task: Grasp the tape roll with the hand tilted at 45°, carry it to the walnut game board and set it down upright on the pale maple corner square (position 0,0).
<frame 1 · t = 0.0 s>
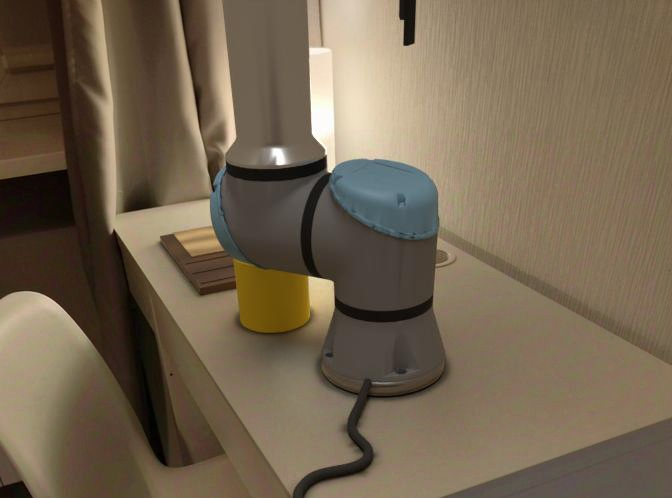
hand: (449, 46, 112), 28 cm above the table, tool pointing down, fingers open, 13 cm apart
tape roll: (275, 318, 103), on the table
board: (227, 257, 122), on the table
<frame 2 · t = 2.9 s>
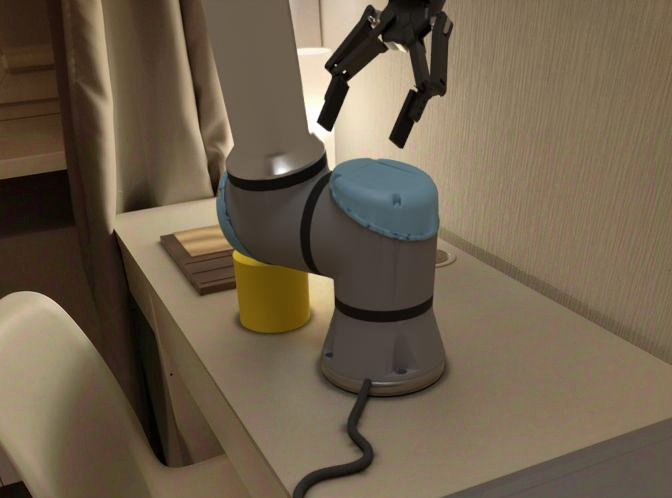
hand: (358, 135, 99), 21 cm above the table, tool tilted 35°, fingers open, 13 cm apart
nothing on the table moved.
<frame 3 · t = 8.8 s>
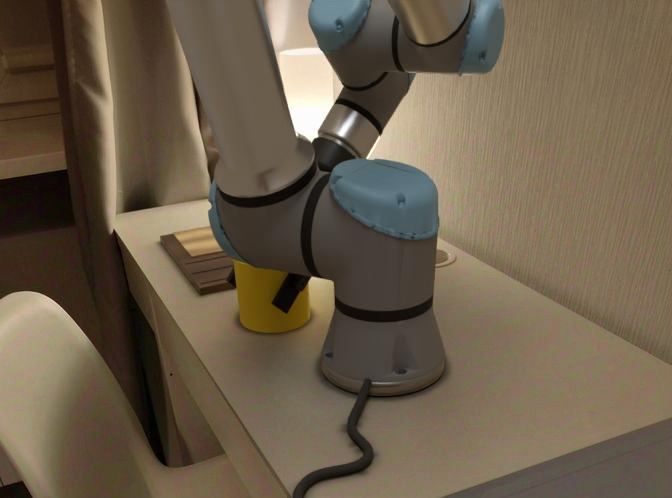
hand: (255, 296, 99), 4 cm above the table, tool tilted 45°, fingers closed on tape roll, 10 cm apart
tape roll: (275, 318, 103), on the table, touching gripper
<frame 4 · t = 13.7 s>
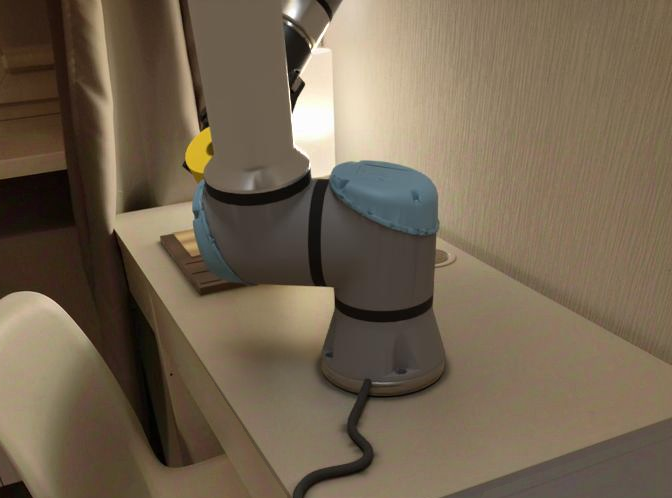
hand: (210, 179, 102), 16 cm above the table, tool tilted 45°, fingers closed on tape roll, 10 cm apart
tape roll: (244, 199, 108), point 12 cm above the table, touching gripper
when the fingers open (7 cm above the table, at t = 18.6 s): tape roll drops 2 cm, resting on board.
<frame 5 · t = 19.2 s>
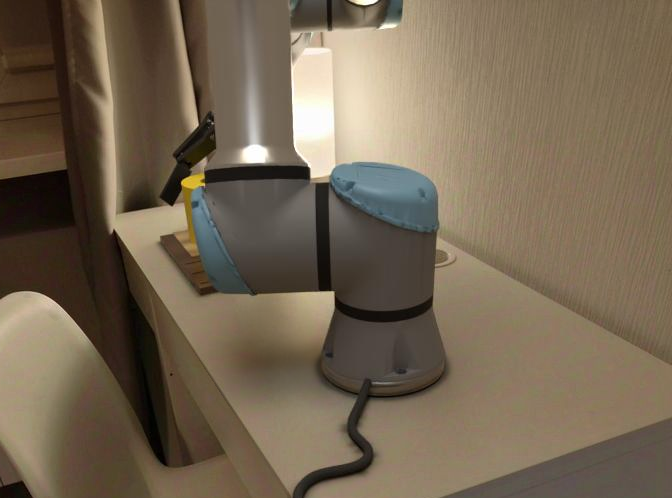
hand: (186, 211, 119), 8 cm above the table, tool tilted 45°, fingers open, 13 cm apart
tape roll: (218, 237, 127), point 1 cm above the table, touching board
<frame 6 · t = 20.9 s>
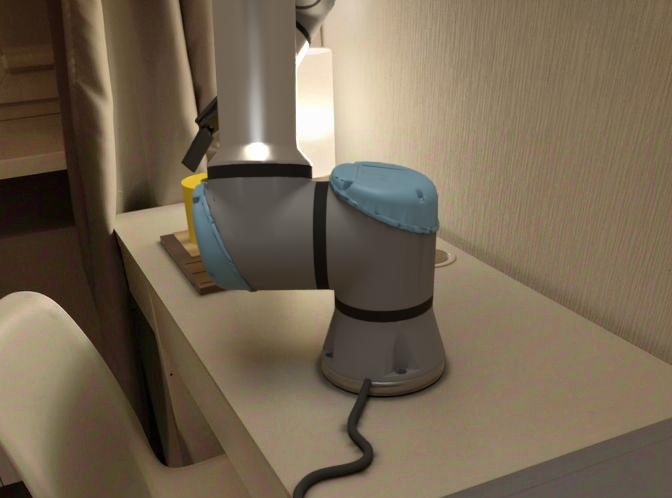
hand: (209, 175, 119), 12 cm above the table, tool tilted 45°, fingers open, 13 cm apart
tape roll: (218, 237, 127), point 1 cm above the table, touching board, gripper
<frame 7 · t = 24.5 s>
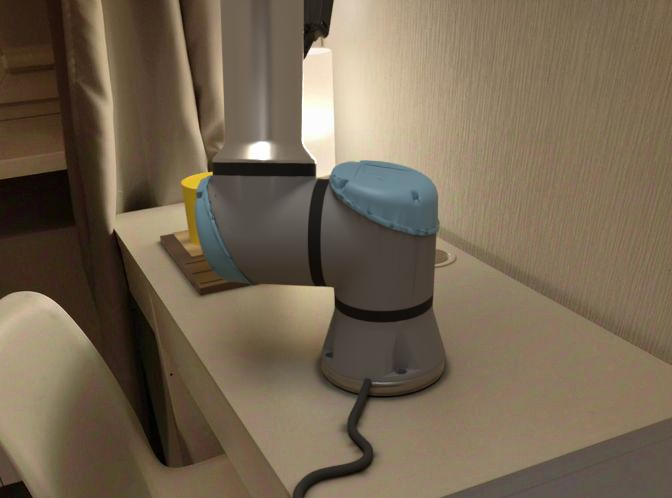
hand: (256, 73, 112), 26 cm above the table, tool tilted 40°, fingers open, 13 cm apart
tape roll: (218, 237, 127), point 1 cm above the table, touching board
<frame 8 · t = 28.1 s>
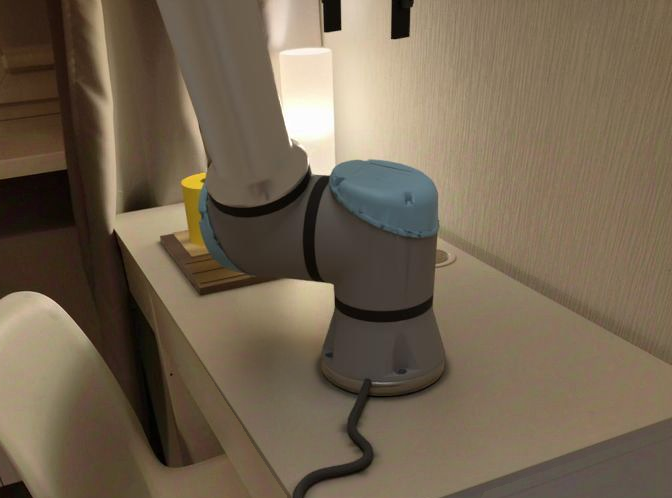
hand: (365, 35, 99), 32 cm above the table, tool pointing down, fingers open, 13 cm apart
nothing on the table moved.
at the end: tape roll inside the target area on the board (0.7 cm from its centre), point 1.2 cm above the board's base; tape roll tilted 0°; the gripper is holding nothing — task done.
